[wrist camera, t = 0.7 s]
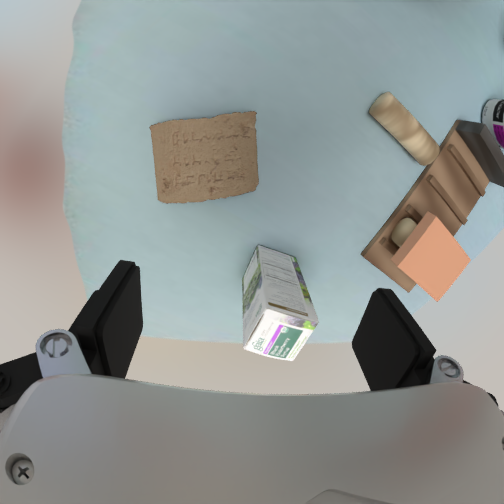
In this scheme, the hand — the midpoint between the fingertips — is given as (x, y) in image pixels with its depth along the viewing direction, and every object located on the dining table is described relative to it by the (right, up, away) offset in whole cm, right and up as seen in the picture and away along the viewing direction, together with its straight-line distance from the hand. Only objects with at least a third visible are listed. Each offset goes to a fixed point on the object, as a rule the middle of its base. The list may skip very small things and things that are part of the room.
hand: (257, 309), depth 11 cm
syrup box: (+2, 0, +29) cm, 29 cm away
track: (+28, +9, +26) cm, 39 cm away
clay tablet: (-6, +14, +23) cm, 28 cm away
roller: (+19, +18, +22) cm, 34 cm away
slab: (+24, +2, +23) cm, 34 cm away
